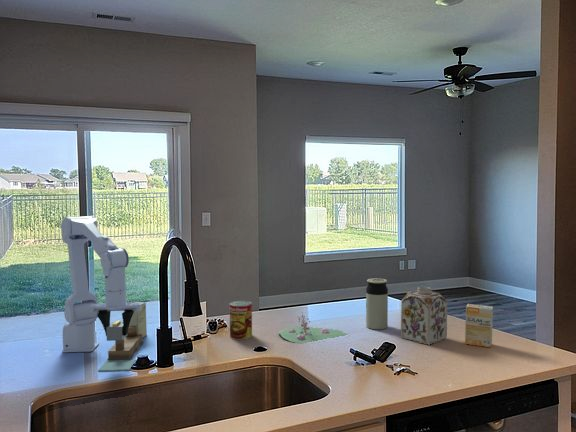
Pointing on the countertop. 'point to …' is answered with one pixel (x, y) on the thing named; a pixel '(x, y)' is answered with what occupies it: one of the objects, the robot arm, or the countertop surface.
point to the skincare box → (140, 320)
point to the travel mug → (377, 304)
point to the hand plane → (126, 346)
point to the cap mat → (117, 365)
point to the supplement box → (479, 325)
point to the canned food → (240, 320)
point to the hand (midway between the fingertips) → (116, 334)
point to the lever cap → (115, 331)
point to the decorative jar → (424, 316)
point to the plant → (308, 333)
